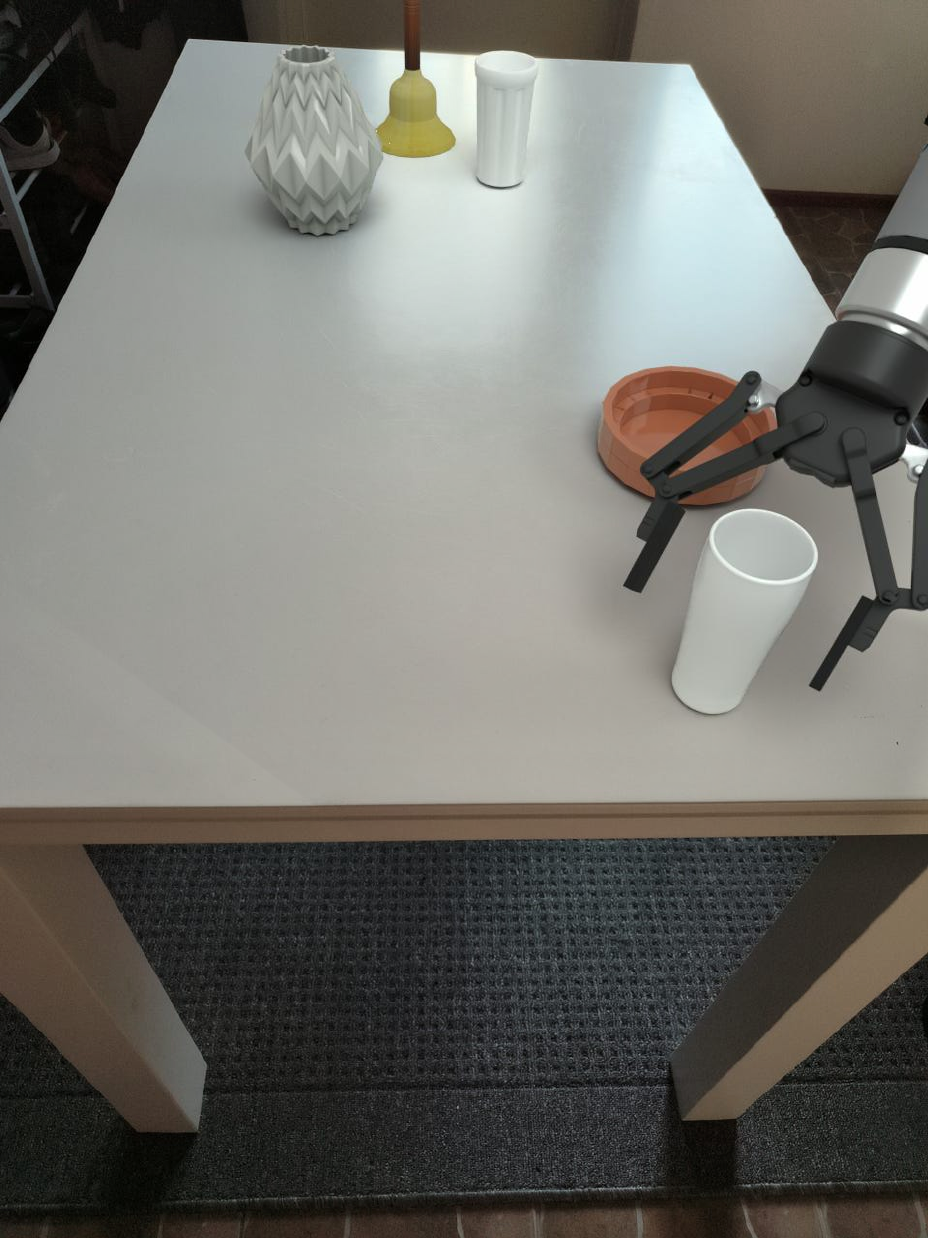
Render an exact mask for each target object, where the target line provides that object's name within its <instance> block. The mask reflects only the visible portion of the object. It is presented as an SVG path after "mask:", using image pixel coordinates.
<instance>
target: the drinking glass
mask: <svg viewBox="0 0 928 1238" xmlns="http://www.w3.org/2000/svg"><path fill="white" fill-rule="evenodd" d="M818 551H819V550H818V548H817V545H816V542H815V540H814V539H813V537H812V536H811V534H810V533H809V532H808V531H807V530H806V529H805V527H803V526H802V525H801V524H799V523H797V522H796V521H795V520H793V519H792V518H790V517H788V516H785V515H783V514H781V513H777V512H775V511H770V510H768V509H761V508H741V509H736V510H733V511H730V512H727V513H725V514H723V515H722V516H720V517H719V518H718V519H716V521H715V522H714V523H713V524H712V526H711V528H710V530H709V533H708V535H707V537H706V540H705V542H704V545H703V548H702V550H701V553H700V555H699V559H698V562H697V564H696V568H695V571H694V574H693V575H694V576H693V579H692V585H691V588H690V594H689V598H688V604H687V609H686V614H685V618H684V624H683V627H682V632H681V638H680V642H679V647H678V652H677V655H676V660H675V662H674V666H673V669H672V672H671V684H672V688H673V691H674V694H675V695H676V696H677V698H678V699H679V700H680V701H681V702H682V703H683V704H684V705H685V706H687V707H689V708H690V709H692V710H694V711H697V712H699V713H702V714H708V715H719V714H724V713H727V712H729V711H732V710H733V709H735V708H736V707H737V706H738V705H739V704H740V703H741V702H742V700H743V698H744V696H746V695H745V694H746V692H747V690H748V688H749V686H750V685H751V683H752V681H753V680H754V678H755V677H756V675H757V673H758V671H760V668H761V667H762V665H763V664H764V662H765V661H766V659H767V658H768V656H769V654H771V653H770V652H771V651H772V650H773V648H774V646H775V645H776V643H777V642H778V640H779V639H780V637H781V636H782V634H783V633H784V631H785V629H786V628H787V626H788V624H789V623H790V622H791V619H793V617H794V615H795V613H796V611H797V610H798V608H799V606H800V604H801V602H802V600H803V598H804V597H805V594H806V592H807V589H808V587H809V585H810V583H811V580H812V578H813V575H814V572H815V570H816V567H817V565H818V561H819V552H818Z"/></svg>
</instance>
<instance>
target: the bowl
mask: <svg viewBox="0 0 928 1238" xmlns="http://www.w3.org/2000/svg"><path fill="white" fill-rule="evenodd" d="M739 382H740V381H738V380H735V379H734V378H731V377H730V376H726V375H724V374H722V373H719V372H715V371H712V370H707V369H703V368H699V367H693V366H681V365H680V366H678V365H664V366H656V367H648V368H643V369H640V370H638V371H635V372H633V373H630V374H628V375H624V376H623V377H622V378H620V379H619V380H618V381H617V382H615V383H614V384H612V386H610V388H609V390H608V392H607V393H606V396H605V397H604V400H603V401H602V406H601V411H600V417H599V418H600V419H599V423H598V430H597V452H598V453H599V455H600V457H601V459H602V461H603V463H604V464H605V467H606V468H607V469H608V470H609V471H610V472H611V473H612V474H614V475H615V476H616V477H617V478H618V479H619V480H620V481H621V482H622V483H623V484H624V485H626V486H628V487H631V488H632V489H634V490H636V491H638V492H640V493H642V494H644V495H646V496H648V497H651V498H654V497H655V490H654V488H653V486H652V485H651V484H650V483H649V482H648V481H647V480H646V479H645V478H644V477H643V476H642V475H641V473H640V467H641V465H642V463H643V462H645V461H646V460H647V459H648V458H650V457H651V456H652V455H654V454H655V453H656V452H658V451H659V450H660V449H662V448H663V447H664V446H666V445H667V444H668V443H669V442H671V441H672V440H673V439H675V438H676V437H677V436H679V435H680V434H681V433H683V432H684V431H685V430H686V429H688V428H689V427H690V426H692V425H693V424H694V423H696V422H697V421H698V420H700V419H701V418H702V417H704V416H705V415H706V414H707V413H709V412H710V411H711V410H713V409H714V408H715V407H717V406H718V405H719V404H721V403H722V402H723V401H724V400H726V399H727V398H728V397H729V396H730V395H731V393H732V392H733V390H734V389H735V387H736V386H737V384H738V383H739ZM774 429H777V421H776V414H775V411H773V409H772V407H767V408H765V409H764V410H763V411H761V412H760V413H758V414H751V413H749V414H748V415H747V416H746V417H745V418H744V419H743V420H742V421H741V422H740V423H739V424H738V425H736V426H735V427H734V428H732V429H731V430H730V431H728V432H727V433H726V434H724V435H723V436H722V437H720V438H719V439H717V440H716V441H715V442H713V443H712V444H711V445H709V446H708V447H707V448H705V449H704V450H703V451H701V452H700V453H699V454H697V455H696V456H695V457H693V458H692V459H691V460H689V461H688V462H687V463H685V464H684V465H683V466H681V467H680V468H679V469H677V470H676V471H675V472H673V473H672V474H671V475H669V477H670V478H671V477H673V476H675V475H678V474H680V473H682V472H685V471H687V470H689V469H691V468H694V467H696V466H698V465H700V464H703V463H705V462H707V461H709V460H712V459H714V458H716V457H718V456H721V455H723V454H725V453H727V452H730V451H732V450H734V449H736V448H739V447H741V446H743V445H745V444H748V443H750V442H752V441H753V440H754V439H755V438H757V437H759V436H761V435H763V434H765V433H768V432H770V431H772V430H774ZM768 465H769V464H767V465H762V466H760V467H757V468H755V469H753V470H750V471H748V472H746V473H743V474H741V475H739V476H736V477H734V478H732V479H729V480H727V481H725V482H723V483H720V484H718V485H716V486H713V487H711V488H709V489H706V490H704V491H702V492H699V493H697V494H695V495H692V496H690V497H688V498H685V499H683V500H681V501H679V502H678V503H679V504H680V505H681V504H682V505H695V506H706V505H707V506H708V505H713V504H720V503H725V502H726V503H727V502H730V501H733V500H735V499H737V498H739V497H742V496H743V495H746V494H748V493H750V492H751V491H752V490H753V489H754V488H755V487H756V486H757V485H758V484H759V483H760V481H762V479H764V475H765V473H766V471H767V467H768Z"/></svg>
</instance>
